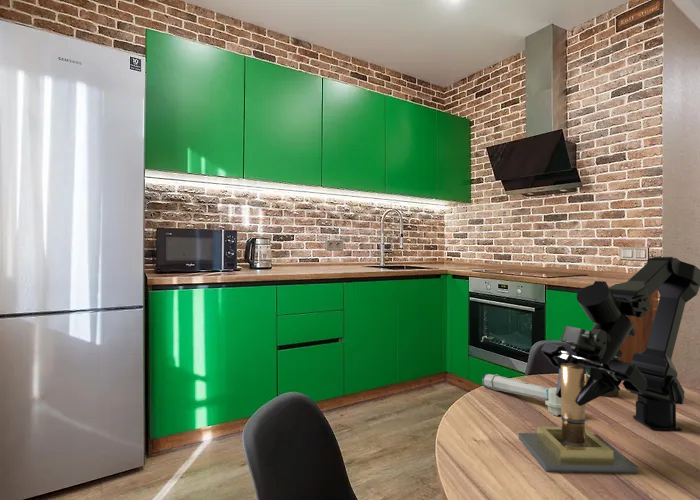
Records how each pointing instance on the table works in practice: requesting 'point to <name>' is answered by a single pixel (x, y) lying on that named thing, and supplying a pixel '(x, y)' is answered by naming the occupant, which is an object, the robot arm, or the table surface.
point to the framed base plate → (575, 453)
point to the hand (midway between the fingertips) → (567, 400)
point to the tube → (572, 403)
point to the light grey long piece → (525, 390)
